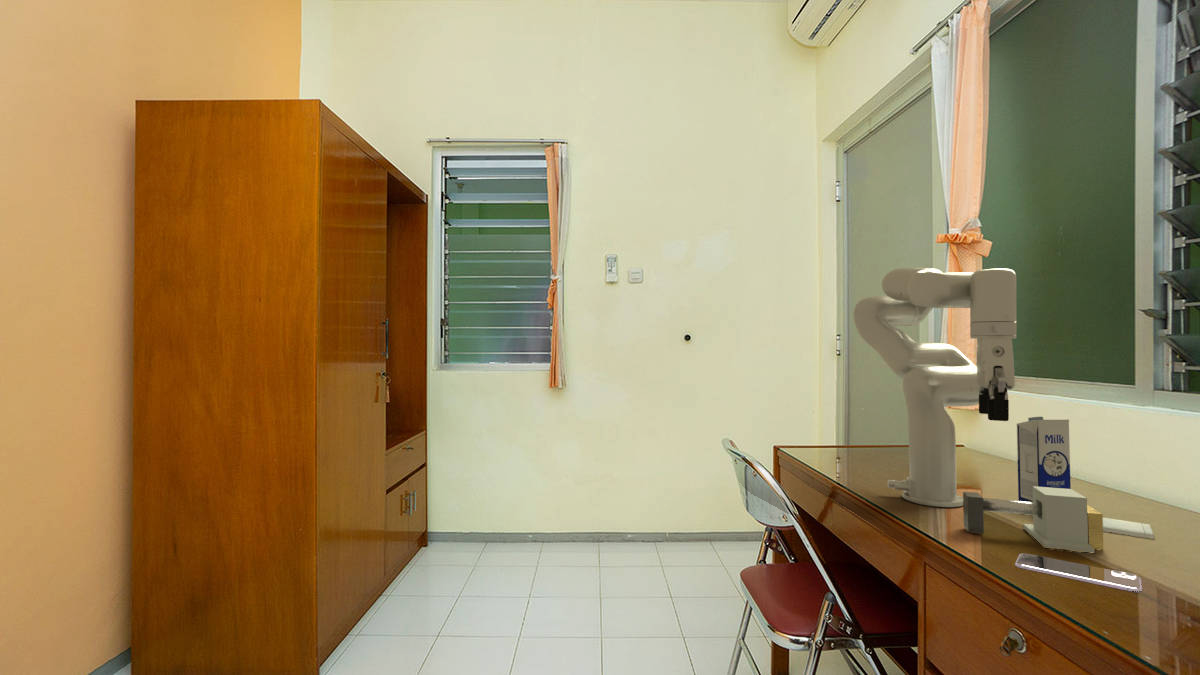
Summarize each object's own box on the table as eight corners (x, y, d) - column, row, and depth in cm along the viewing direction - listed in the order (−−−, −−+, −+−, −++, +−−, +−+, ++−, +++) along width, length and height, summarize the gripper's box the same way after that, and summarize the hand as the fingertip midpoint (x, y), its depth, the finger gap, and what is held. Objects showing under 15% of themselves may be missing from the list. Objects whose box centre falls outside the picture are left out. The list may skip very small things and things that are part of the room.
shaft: (968, 532, 106) (967, 496, 106) (963, 526, 110) (963, 491, 110) (1072, 542, 100) (1071, 505, 100) (1063, 536, 104) (1063, 499, 104)
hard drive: (1066, 520, 111) (1153, 533, 103) (1067, 511, 118) (1149, 522, 109) (1066, 529, 111) (1154, 542, 103) (1067, 519, 118) (1149, 531, 109)
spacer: (1089, 549, 98) (1088, 512, 98) (1074, 537, 104) (1073, 503, 104) (1103, 550, 97) (1102, 514, 98) (1088, 539, 103) (1087, 504, 104)
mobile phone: (1019, 550, 96) (1140, 574, 86) (1020, 556, 96) (1141, 580, 86) (1013, 562, 90) (1142, 589, 80) (1014, 568, 90) (1142, 596, 80)
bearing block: (1044, 548, 98) (1043, 497, 99) (1023, 528, 110) (1022, 482, 110) (1094, 553, 96) (1093, 501, 96) (1067, 532, 107) (1066, 486, 107)
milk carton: (1040, 508, 123) (1038, 418, 124) (1017, 500, 130) (1015, 415, 131) (1072, 508, 124) (1069, 418, 124) (1047, 500, 130) (1045, 415, 131)
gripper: (1027, 331, 101) (1027, 424, 101) (1006, 331, 116) (1006, 412, 116) (978, 331, 104) (978, 422, 104) (963, 331, 120) (964, 410, 120)
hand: (993, 417), depth 110 cm, fingers open, 9 cm apart
